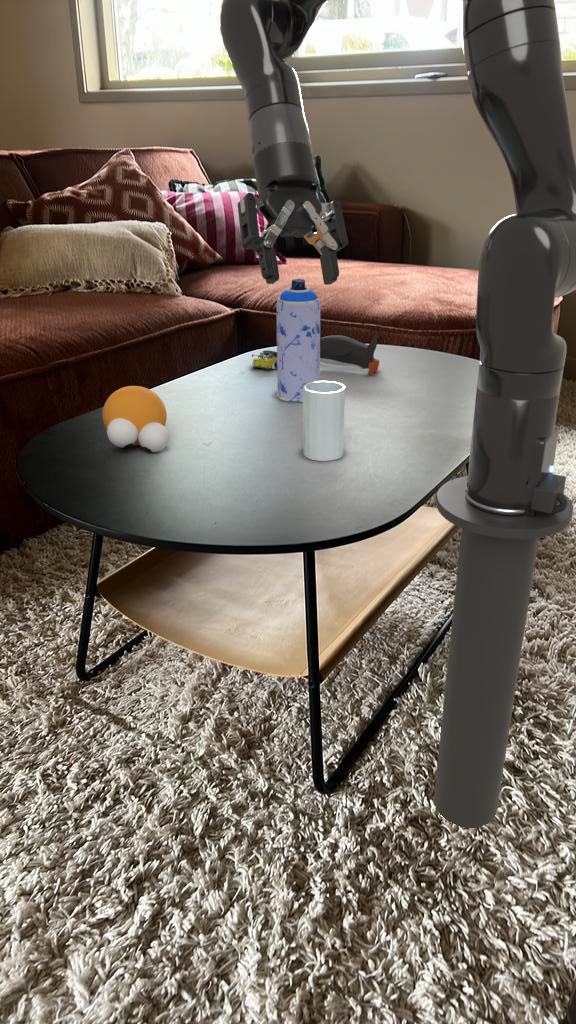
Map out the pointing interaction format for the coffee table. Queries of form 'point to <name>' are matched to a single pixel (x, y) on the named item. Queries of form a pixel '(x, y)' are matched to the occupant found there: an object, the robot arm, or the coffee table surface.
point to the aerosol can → (297, 340)
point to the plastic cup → (323, 420)
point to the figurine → (348, 352)
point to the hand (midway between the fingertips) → (302, 282)
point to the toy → (136, 419)
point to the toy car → (265, 360)
